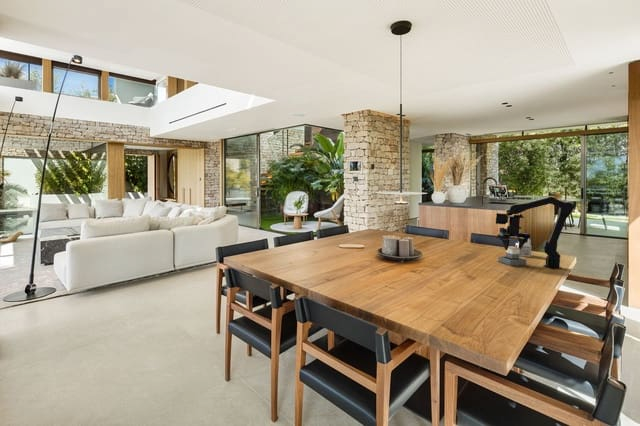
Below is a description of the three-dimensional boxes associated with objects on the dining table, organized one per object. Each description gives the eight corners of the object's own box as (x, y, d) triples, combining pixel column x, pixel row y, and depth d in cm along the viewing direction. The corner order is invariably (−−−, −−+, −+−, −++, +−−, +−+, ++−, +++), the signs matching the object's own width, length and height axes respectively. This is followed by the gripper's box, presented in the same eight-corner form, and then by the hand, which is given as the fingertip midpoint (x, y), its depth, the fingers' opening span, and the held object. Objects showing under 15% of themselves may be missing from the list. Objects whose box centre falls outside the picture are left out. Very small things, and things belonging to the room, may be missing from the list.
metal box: (518, 263, 200) (519, 253, 200) (511, 263, 200) (511, 254, 199) (512, 261, 205) (513, 251, 205) (505, 261, 204) (506, 252, 204)
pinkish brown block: (519, 253, 199) (519, 248, 199) (512, 254, 199) (513, 248, 198) (512, 251, 205) (512, 246, 205) (505, 251, 204) (506, 246, 204)
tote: (526, 265, 198) (526, 259, 198) (510, 266, 196) (510, 260, 196) (513, 261, 208) (513, 255, 208) (498, 261, 207) (498, 256, 207)
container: (518, 256, 221) (519, 237, 220) (514, 253, 228) (515, 235, 227) (531, 257, 219) (532, 237, 217) (527, 254, 226) (528, 235, 225)
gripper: (518, 222, 210) (516, 246, 211) (491, 223, 207) (490, 247, 208) (531, 225, 199) (530, 250, 200) (504, 226, 196) (503, 251, 198)
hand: (513, 249), depth 202 cm, fingers open, 9 cm apart
